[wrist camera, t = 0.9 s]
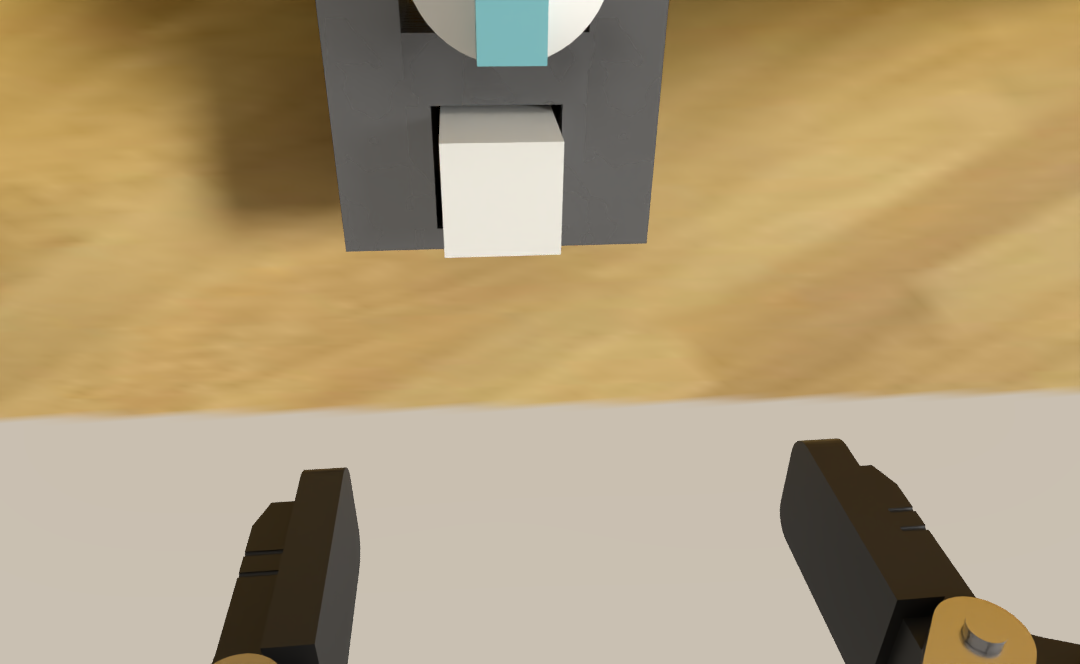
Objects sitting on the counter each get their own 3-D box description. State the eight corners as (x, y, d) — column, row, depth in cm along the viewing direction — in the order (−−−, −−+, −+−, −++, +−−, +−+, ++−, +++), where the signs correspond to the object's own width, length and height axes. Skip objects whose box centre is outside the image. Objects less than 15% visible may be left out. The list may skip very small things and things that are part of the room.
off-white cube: (440, 98, 28) (438, 143, 24) (547, 97, 29) (564, 141, 24) (445, 199, 30) (444, 257, 26) (545, 197, 31) (560, 254, 26)
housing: (315, -245, 26) (282, -266, 21) (646, -236, 27) (692, -255, 22) (361, 190, 34) (346, 251, 29) (617, 184, 35) (646, 243, 30)
